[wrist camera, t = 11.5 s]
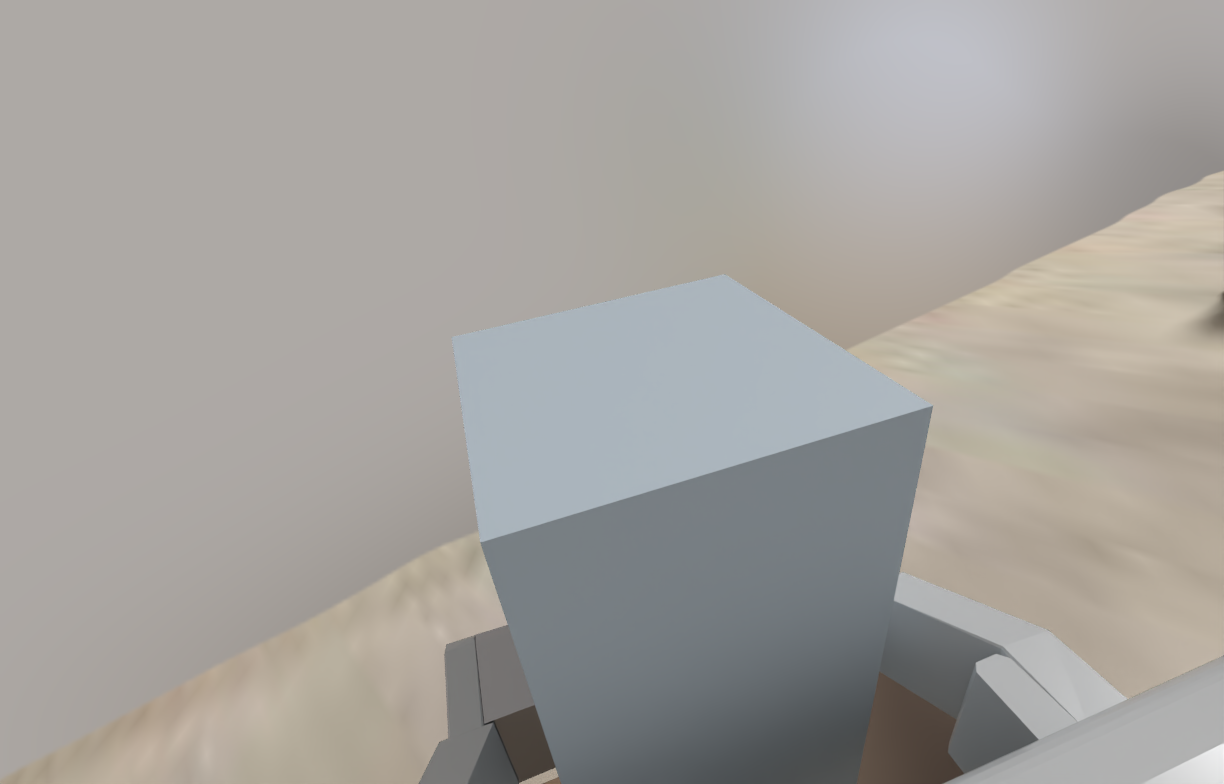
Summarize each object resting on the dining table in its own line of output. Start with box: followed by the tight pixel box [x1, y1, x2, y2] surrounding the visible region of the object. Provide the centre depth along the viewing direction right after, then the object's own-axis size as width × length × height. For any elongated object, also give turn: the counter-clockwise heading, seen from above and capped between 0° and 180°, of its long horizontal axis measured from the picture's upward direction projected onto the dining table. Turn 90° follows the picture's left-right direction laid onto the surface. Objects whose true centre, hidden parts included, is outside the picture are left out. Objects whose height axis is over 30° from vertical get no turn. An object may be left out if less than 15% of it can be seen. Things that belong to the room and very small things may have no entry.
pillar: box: [452, 274, 933, 784], centre depth 10 cm, size 4×4×12 cm
